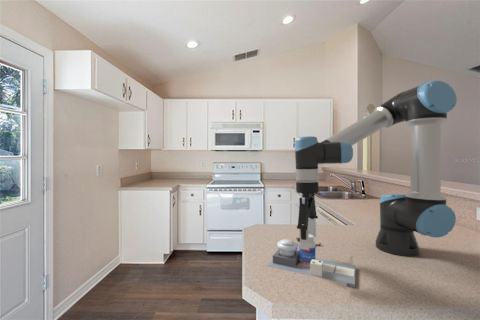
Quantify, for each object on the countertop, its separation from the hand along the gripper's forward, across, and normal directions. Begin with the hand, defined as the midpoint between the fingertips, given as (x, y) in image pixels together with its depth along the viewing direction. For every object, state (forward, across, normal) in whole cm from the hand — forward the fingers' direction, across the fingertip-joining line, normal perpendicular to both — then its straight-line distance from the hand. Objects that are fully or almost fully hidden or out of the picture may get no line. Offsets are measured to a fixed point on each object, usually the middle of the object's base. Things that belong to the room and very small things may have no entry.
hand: (308, 242), depth 81 cm
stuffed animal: (+9, -20, -6) cm, 23 cm away
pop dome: (+6, 0, -8) cm, 10 cm away
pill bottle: (+8, 0, -1) cm, 8 cm away
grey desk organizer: (+9, +1, +1) cm, 9 cm away
